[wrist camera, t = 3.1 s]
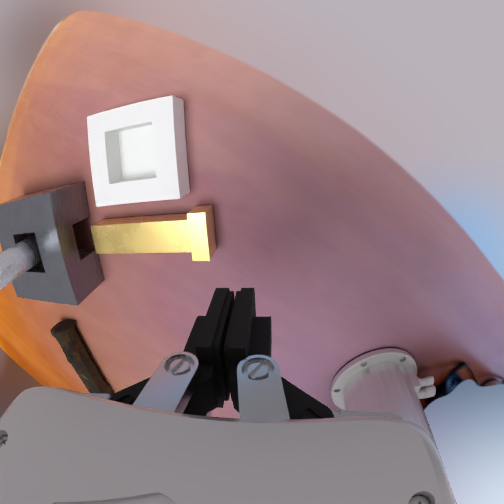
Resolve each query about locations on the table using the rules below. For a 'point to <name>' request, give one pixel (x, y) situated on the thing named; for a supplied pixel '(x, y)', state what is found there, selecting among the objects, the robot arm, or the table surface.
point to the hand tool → (79, 357)
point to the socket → (52, 244)
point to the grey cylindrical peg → (18, 260)
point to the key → (159, 234)
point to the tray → (139, 152)
